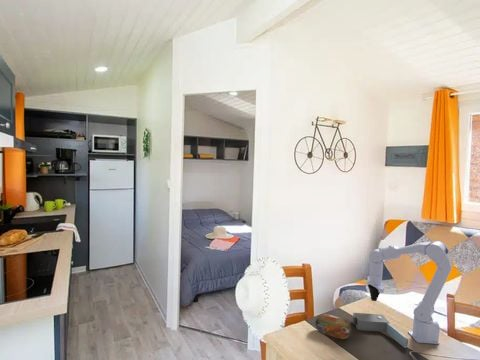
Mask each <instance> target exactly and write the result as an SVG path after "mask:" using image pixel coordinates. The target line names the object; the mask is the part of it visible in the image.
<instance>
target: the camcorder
mask: <svg viewBox="0 0 480 360" xmlns="http://www.w3.org/2000/svg"><path fill="white" fill-rule="evenodd" d="M351 321H352V325H354V326H355V328H356V329H357V330H358V331H366V332H367V331H368V332H370V331H371V332H381V333H384V332H385V333H386V331H387V323H389V324H390V325H391V323H390V321H389V320H388V319H387V318H386V317H385V315H384V314H379V313H365V312H353V313H352V319H351Z"/></svg>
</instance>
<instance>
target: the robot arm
mask: <svg viewBox="0 0 480 360" xmlns="http://www.w3.org/2000/svg"><path fill="white" fill-rule="evenodd" d="M416 253H419V254H421V255H423V256H427V257H428V258H429V259H430V260H431V261H433V263H434V264H435V266H436V270H435V272H434V274H433V277H432V279H431V280H430V283H429V285H428V287H427V289H426V291H425V293H424V296H423V298H422V300H421V301H419V302H418V304H417V306H416V307H415V308H413V309H414V310H413V322H412V323H413V324H412V330H408V331H407V333H408V334H410V336H411V337H412V338H413V339H414V340H415V342H417V343H420V344H430V345H431V344H433V345H434V344H435V345H440V342H439V339H440V325H439V323H438V321H437V319H435V318H433V314H434V313H435V304H436V302H437V300H438V297H439V296H440V294H441V292H442V289H443V288H444V286H445V284H446V282H447V279H448V277H449V275H450V273H451V271H452V269H453V264H452V260H451V255H450V249H448V247H447V245H446V244H445V243H444V242H442V241H439V240H434V241H425V242H424V241H423V242H418V243H415V244H410V245H406V246H405V245H404V246H402V247H398V246H397V245H388V247H383V248H382V247H378V248H376V249H374V250H372V251H371V252H369V259H370V263H369V276H367V277H366V278H367V279H366V284H367V287H368V290H369V294H370V300H371V301H372V302H377V301H378V298H379V295H380V294H384V293H385V289H384V287H383V283H382V282H383V272H384V261H390V260H396V259H400V257H401V256H402V255H403V256H404V255H409V254H416Z"/></svg>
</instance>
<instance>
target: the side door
mask: <svg viewBox="0 0 480 360" xmlns="http://www.w3.org/2000/svg"><path fill="white" fill-rule="evenodd" d="M389 323H390V322H389ZM389 323H387V331H386V332H385V333H387V335H389V336H390V337H391V339H393V340H395V341H396V342H397V343H398V344H399V345H400V346H401V347H403V348H404V349H406V348H407V347H408V346H409V345H408V344H409V338H408V337H407V336H405V335H404V333H402V332H400V331H399V330H398V329H397V328H395V327H394V326H393V325H391V323H390V324H389Z"/></svg>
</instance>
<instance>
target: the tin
mask: <svg viewBox="0 0 480 360" xmlns="http://www.w3.org/2000/svg"><path fill="white" fill-rule="evenodd" d="M315 326H316V329H317V330H318V331H319V333H321V334H323V335H327V336H329V337H333V338H337V339H339V340H347V339H348V338H350V336H351V334H352V333H351V332H352V327H351V326H352V325H351V324H350V323H349V321H348V320H347V319H346V318H343V317H339V316H335V315H332V314H328V313H321V314H319V315H318V316H317V317H316V319H315Z"/></svg>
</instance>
